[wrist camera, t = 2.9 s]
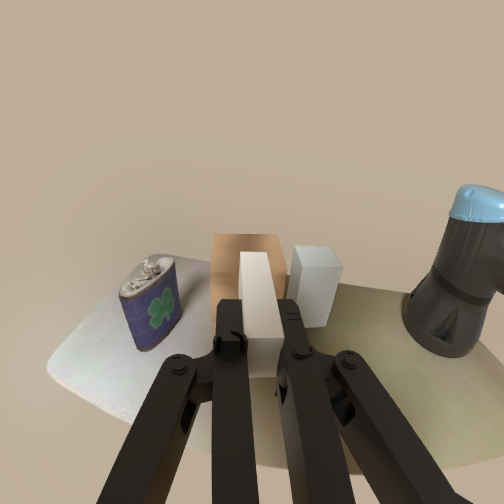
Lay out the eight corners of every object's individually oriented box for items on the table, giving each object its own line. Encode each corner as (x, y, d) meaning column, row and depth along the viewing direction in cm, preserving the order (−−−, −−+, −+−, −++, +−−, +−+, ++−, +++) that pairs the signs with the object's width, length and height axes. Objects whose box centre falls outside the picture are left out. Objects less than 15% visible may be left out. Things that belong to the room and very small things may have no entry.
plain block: (267, 318, 38) (276, 234, 31) (273, 358, 32) (287, 269, 25) (216, 318, 37) (214, 233, 31) (214, 358, 31) (209, 269, 25)
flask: (171, 306, 39) (162, 241, 33) (188, 313, 38) (181, 247, 32) (131, 347, 31) (109, 279, 26) (148, 357, 30) (128, 288, 25)
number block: (316, 302, 41) (329, 245, 36) (325, 326, 37) (342, 266, 32) (284, 303, 41) (294, 244, 36) (290, 328, 36) (302, 266, 31)
